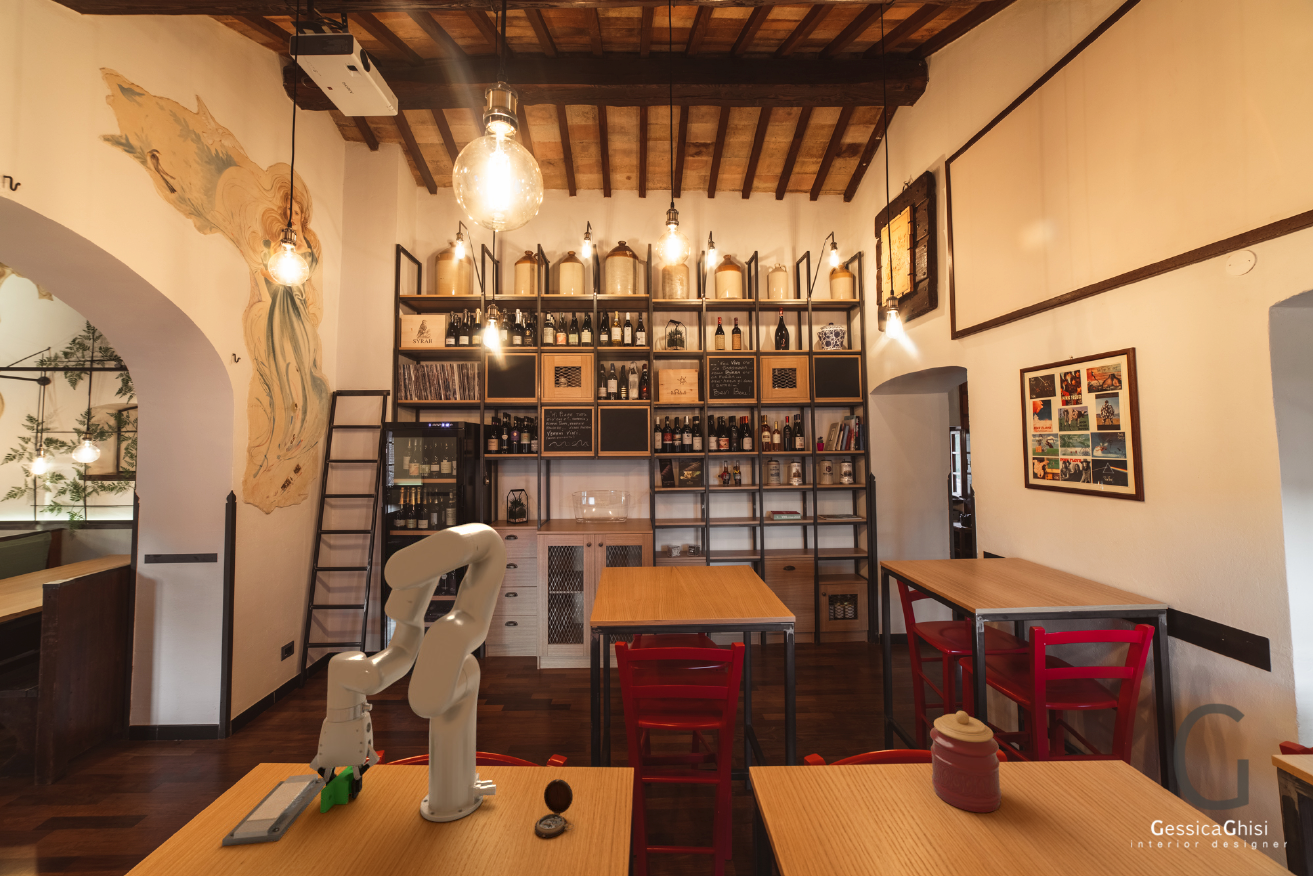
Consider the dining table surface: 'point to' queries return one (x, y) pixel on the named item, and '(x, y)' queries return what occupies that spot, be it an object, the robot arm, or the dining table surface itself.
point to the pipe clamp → (337, 790)
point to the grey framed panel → (276, 811)
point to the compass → (555, 809)
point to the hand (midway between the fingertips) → (343, 795)
